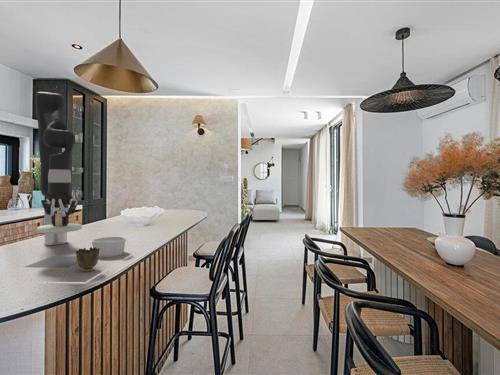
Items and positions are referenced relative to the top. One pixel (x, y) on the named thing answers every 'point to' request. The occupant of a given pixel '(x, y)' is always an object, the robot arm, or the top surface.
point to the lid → (59, 226)
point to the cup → (87, 258)
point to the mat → (56, 262)
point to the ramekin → (109, 246)
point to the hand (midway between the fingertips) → (60, 225)
